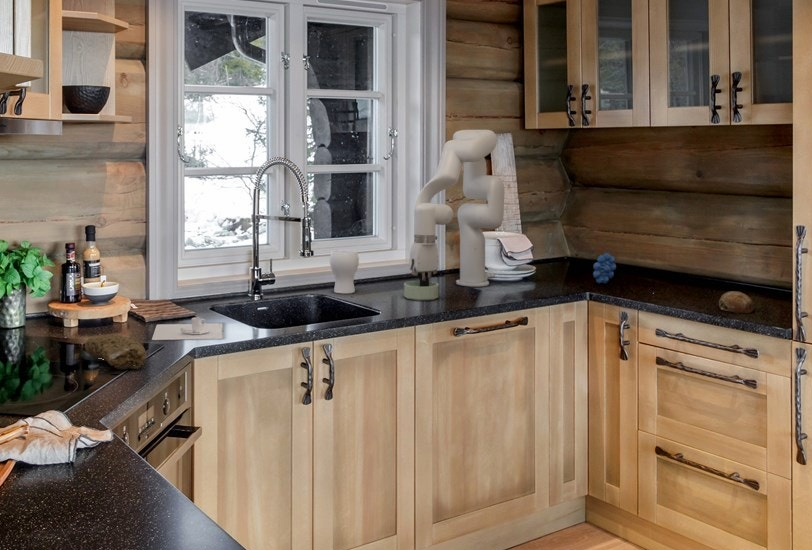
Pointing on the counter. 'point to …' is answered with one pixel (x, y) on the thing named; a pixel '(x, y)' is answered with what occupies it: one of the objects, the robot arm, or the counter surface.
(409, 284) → the bowl
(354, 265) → the cup
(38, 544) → the counter surface
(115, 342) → the sponge
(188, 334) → the teacup and saucer
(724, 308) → the bread roll
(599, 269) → the grapes
